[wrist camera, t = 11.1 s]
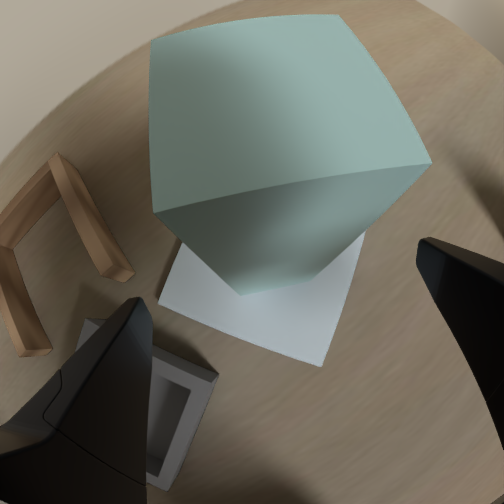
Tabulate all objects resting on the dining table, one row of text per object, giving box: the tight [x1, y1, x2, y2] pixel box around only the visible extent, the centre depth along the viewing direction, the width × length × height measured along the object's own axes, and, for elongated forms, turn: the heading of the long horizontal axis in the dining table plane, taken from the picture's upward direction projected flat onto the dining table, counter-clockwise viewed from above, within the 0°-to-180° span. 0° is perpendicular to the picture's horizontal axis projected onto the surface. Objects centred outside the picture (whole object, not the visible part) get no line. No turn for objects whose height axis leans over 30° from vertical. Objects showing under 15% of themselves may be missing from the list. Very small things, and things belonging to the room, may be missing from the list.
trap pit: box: [75, 318, 219, 492], centre depth 14 cm, size 8×8×2 cm
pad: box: [158, 230, 366, 367], centre depth 17 cm, size 10×10×1 cm
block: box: [149, 15, 432, 296], centre depth 10 cm, size 4×4×13 cm
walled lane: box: [0, 152, 135, 357], centre depth 16 cm, size 10×10×3 cm
